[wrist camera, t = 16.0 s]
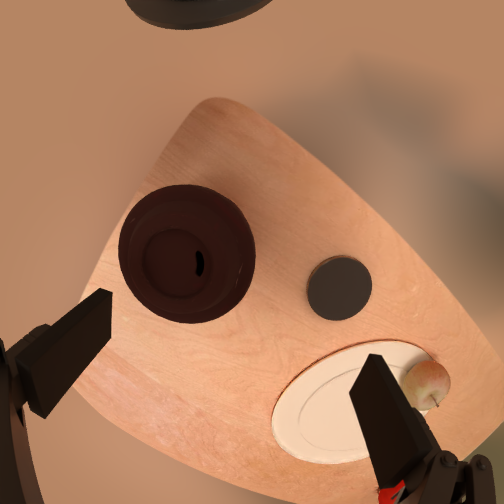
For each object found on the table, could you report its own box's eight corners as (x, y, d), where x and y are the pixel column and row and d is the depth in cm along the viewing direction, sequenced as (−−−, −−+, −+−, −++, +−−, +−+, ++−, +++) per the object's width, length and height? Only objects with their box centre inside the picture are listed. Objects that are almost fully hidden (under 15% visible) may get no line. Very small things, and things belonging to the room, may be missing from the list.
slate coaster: (318, 247, 33) (320, 249, 32) (379, 265, 33) (381, 267, 32) (297, 310, 34) (298, 312, 34) (355, 323, 35) (357, 326, 34)
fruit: (436, 378, 37) (458, 408, 29) (397, 397, 37) (415, 430, 30) (436, 343, 35) (462, 372, 27) (394, 363, 36) (415, 397, 28)
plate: (306, 475, 43) (306, 478, 42) (239, 388, 37) (238, 391, 37) (439, 418, 39) (441, 420, 39) (425, 304, 34) (427, 306, 33)
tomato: (423, 464, 44) (435, 491, 35) (406, 488, 47) (415, 513, 38) (384, 475, 44) (394, 505, 35) (369, 498, 47) (376, 524, 38)
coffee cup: (155, 236, 33) (87, 277, 18) (202, 165, 31) (154, 154, 16) (224, 286, 34) (199, 359, 19) (276, 218, 32) (287, 249, 17)
